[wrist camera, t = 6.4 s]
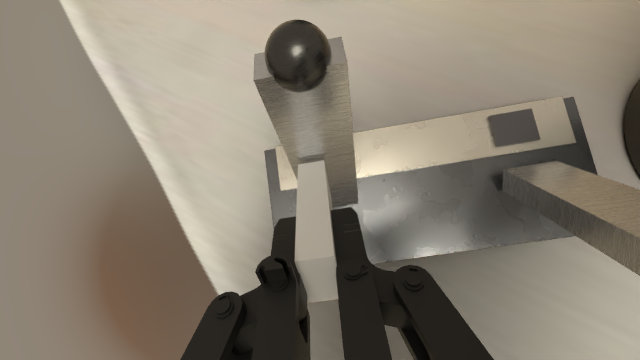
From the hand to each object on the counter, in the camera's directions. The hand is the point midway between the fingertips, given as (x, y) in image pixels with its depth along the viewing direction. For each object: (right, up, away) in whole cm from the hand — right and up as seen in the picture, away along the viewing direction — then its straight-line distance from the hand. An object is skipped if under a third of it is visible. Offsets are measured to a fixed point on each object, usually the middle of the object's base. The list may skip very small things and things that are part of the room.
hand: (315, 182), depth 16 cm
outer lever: (+1, -2, +6) cm, 6 cm away
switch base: (+8, -1, +7) cm, 11 cm away
